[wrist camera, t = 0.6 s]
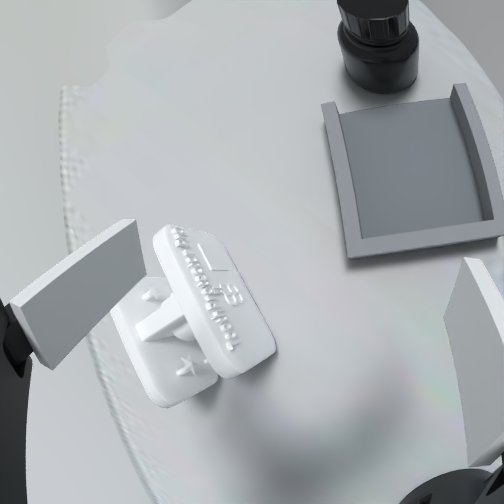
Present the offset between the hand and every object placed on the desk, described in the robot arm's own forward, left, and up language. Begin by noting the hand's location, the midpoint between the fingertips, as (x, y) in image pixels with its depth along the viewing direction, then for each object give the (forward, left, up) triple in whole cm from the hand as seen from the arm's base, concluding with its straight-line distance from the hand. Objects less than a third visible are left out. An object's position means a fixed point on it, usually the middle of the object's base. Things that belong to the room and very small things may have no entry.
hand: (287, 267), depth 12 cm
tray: (+9, -9, -22) cm, 25 cm away
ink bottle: (+23, -9, -22) cm, 33 cm away
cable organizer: (-3, +15, -22) cm, 27 cm away
